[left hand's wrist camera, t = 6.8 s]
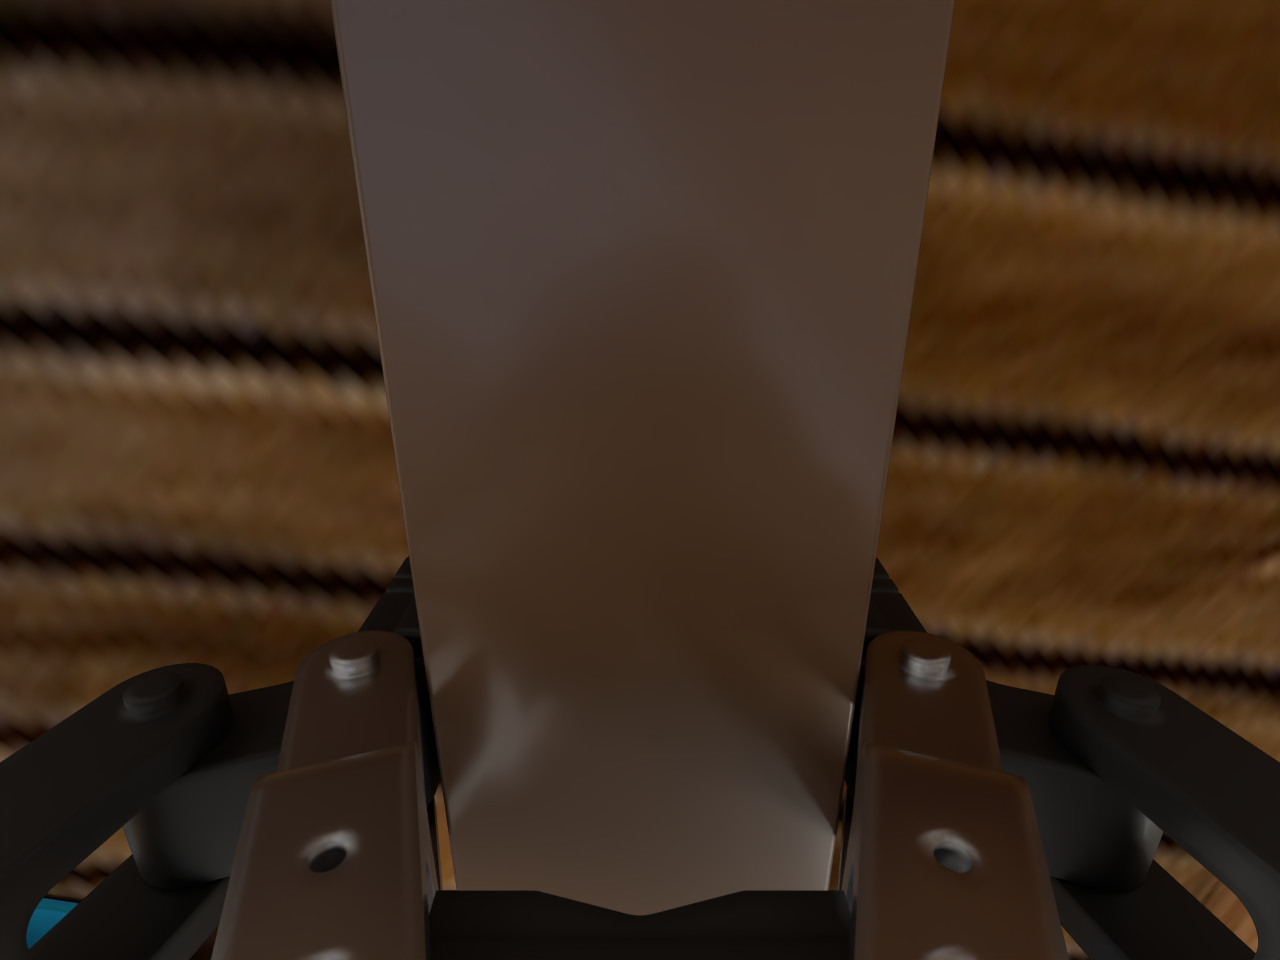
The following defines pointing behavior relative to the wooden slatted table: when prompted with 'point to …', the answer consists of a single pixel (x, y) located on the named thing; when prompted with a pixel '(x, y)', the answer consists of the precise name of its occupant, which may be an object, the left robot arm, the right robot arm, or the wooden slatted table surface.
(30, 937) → the model building
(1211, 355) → the wooden slatted table surface
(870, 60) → the beam
